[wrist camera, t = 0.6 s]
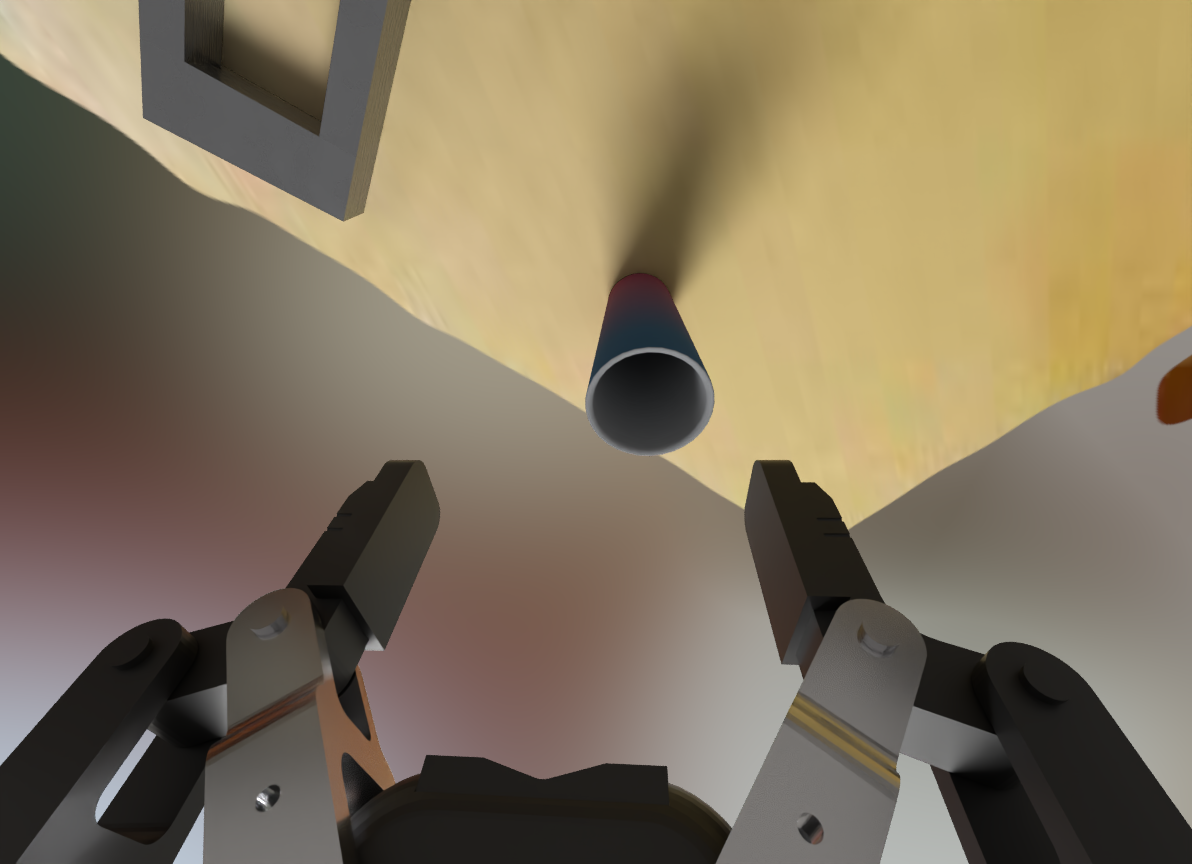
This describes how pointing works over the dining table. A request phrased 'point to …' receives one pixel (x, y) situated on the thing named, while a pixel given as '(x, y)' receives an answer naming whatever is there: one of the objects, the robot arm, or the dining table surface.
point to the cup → (647, 373)
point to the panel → (275, 99)
